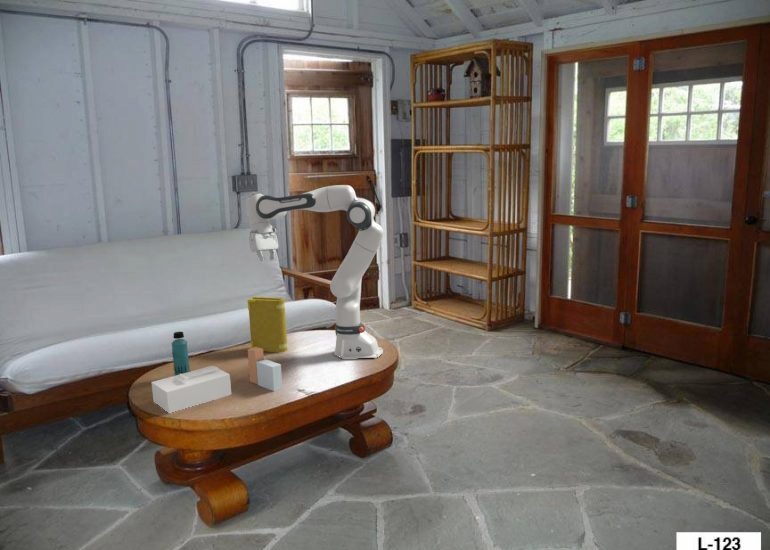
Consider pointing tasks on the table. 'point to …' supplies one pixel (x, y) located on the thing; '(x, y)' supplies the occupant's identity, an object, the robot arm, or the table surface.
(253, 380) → the block
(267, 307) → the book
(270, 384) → the pale gray chunky brick
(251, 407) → the table surface
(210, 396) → the tissue box
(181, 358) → the beverage bottle
